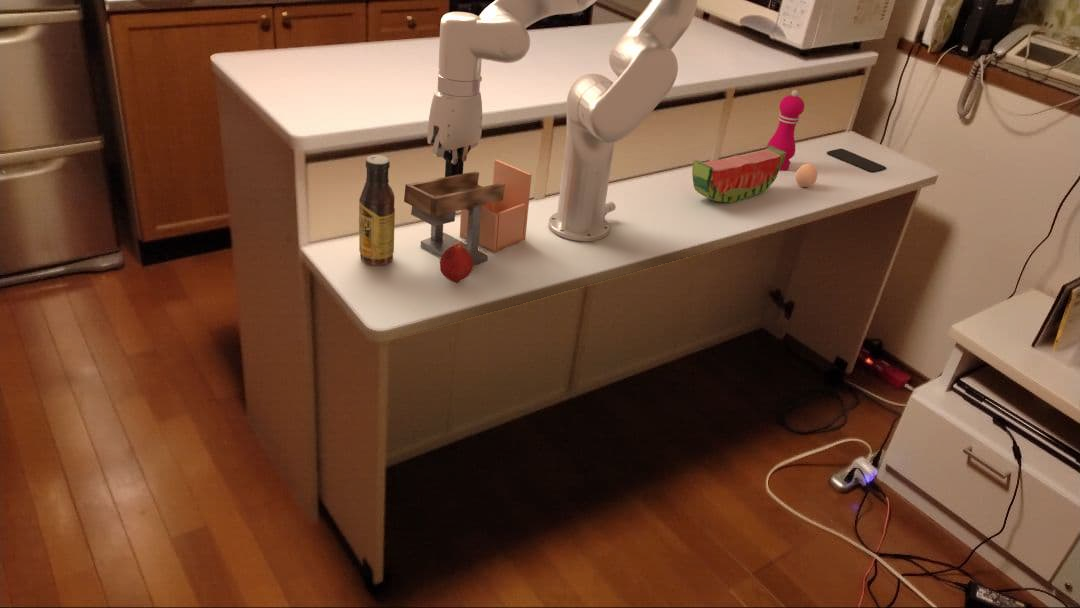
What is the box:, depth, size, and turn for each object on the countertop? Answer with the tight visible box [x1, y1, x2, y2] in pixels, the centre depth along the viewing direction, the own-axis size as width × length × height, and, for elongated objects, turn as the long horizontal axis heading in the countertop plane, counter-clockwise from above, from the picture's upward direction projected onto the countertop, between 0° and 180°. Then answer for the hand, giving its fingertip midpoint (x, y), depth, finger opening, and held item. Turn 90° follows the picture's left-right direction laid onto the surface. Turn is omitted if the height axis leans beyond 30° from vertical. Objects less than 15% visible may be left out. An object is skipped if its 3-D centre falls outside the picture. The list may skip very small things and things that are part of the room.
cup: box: [459, 159, 533, 254], centre depth 162 cm, size 9×9×14 cm
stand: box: [420, 203, 489, 268], centre depth 155 cm, size 6×12×12 cm, turn 49°
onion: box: [439, 241, 474, 284], centre depth 147 cm, size 6×6×8 cm
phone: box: [826, 148, 887, 173], centre depth 226 cm, size 7×1×15 cm
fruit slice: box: [691, 145, 786, 204], centre depth 193 cm, size 26×6×10 cm, turn 126°
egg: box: [795, 162, 818, 188], centre depth 204 cm, size 5×5×6 cm
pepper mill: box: [765, 89, 805, 171], centre depth 211 cm, size 7×7×20 cm
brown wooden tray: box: [403, 170, 505, 226], centre depth 153 cm, size 18×12×6 cm, turn 139°
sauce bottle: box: [358, 154, 396, 266], centre depth 148 cm, size 7×6×20 cm
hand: (453, 180), depth 159 cm, fingers closed
